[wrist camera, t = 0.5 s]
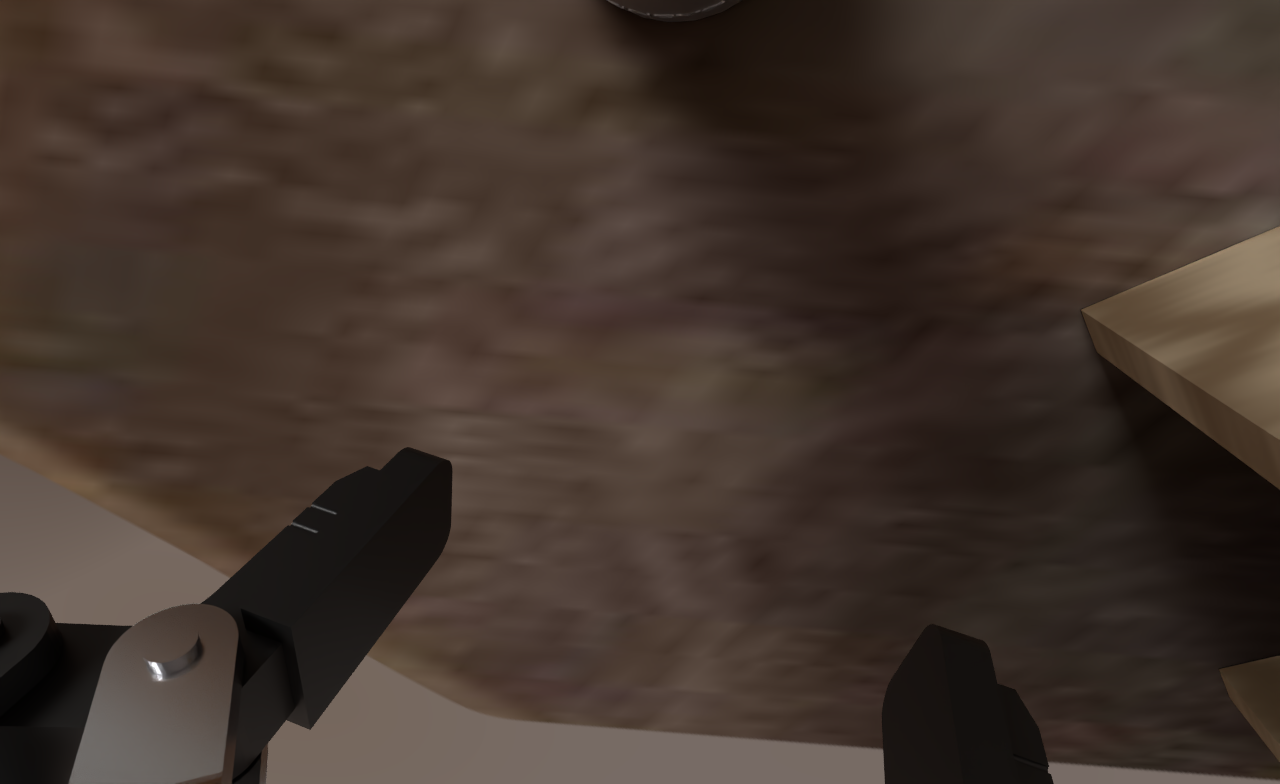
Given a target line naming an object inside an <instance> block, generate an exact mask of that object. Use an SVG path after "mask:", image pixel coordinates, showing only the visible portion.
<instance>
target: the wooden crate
mask: <svg viewBox="0 0 1280 784" xmlns="http://www.w3.org/2000/svg"><path fill="white" fill-rule="evenodd" d="M1081 312H1082V315H1083V317H1084V320H1085V322H1086V325H1087V328H1088V330H1089V333H1090V335H1091V338H1092V341H1093V343H1094V346H1095V348H1096V351H1097V353H1098V354H1100V355H1101V356H1102V357H1104V358H1105V359H1106V360H1108V361H1109V362H1110V363H1112V364H1113V365H1114V366H1116V367H1117V368H1118V369H1120V370H1121V371H1122V372H1124V373H1125V374H1126V375H1128V376H1129V377H1130V378H1132V379H1133V380H1134V381H1136V382H1137V383H1138V384H1140V385H1141V386H1142V387H1144V388H1145V389H1146V390H1148V391H1149V392H1150V393H1152V394H1153V395H1154V396H1156V397H1157V398H1158V399H1160V400H1161V401H1162V402H1164V403H1165V404H1166V405H1168V406H1169V407H1170V408H1172V409H1173V410H1174V411H1176V412H1177V413H1178V414H1180V415H1181V416H1182V417H1184V418H1185V419H1186V420H1188V421H1189V422H1190V423H1192V424H1193V425H1194V426H1196V427H1197V428H1198V429H1200V430H1201V431H1202V432H1204V433H1205V434H1206V435H1208V436H1209V437H1210V438H1212V439H1213V440H1214V441H1216V442H1217V443H1218V444H1220V445H1221V446H1222V447H1224V448H1225V449H1226V450H1228V451H1229V452H1230V453H1232V454H1233V455H1234V456H1236V457H1237V458H1238V459H1240V460H1241V461H1242V462H1244V463H1245V464H1246V465H1247V466H1249V467H1250V468H1251V469H1253V470H1254V471H1255V472H1257V473H1258V474H1259V475H1261V476H1262V477H1263V478H1265V479H1266V480H1267V481H1269V482H1270V483H1271V484H1273V485H1274V486H1275V487H1277V488H1278V489H1279V490H1280V226H1279V227H1276V228H1274V229H1271V230H1269V231H1267V232H1264V233H1262V234H1260V235H1257V236H1255V237H1252V238H1250V239H1248V240H1245V241H1243V242H1241V243H1238V244H1236V245H1233V246H1231V247H1229V248H1226V249H1224V250H1222V251H1219V252H1217V253H1214V254H1212V255H1210V256H1207V257H1205V258H1203V259H1200V260H1198V261H1195V262H1193V263H1191V264H1188V265H1186V266H1184V267H1181V268H1179V269H1176V270H1174V271H1172V272H1169V273H1167V274H1165V275H1162V276H1160V277H1157V278H1155V279H1153V280H1150V281H1148V282H1146V283H1143V284H1141V285H1138V286H1136V287H1134V288H1131V289H1129V290H1127V291H1124V292H1122V293H1119V294H1117V295H1115V296H1112V297H1110V298H1108V299H1105V300H1103V301H1100V302H1098V303H1096V304H1093V305H1091V306H1089V307H1086V308H1084V309H1081ZM1219 671H1220V674H1221V676H1222V679H1223V682H1224V684H1225V687H1226V689H1227V692H1228V695H1229V697H1230V699H1231V700H1232V702H1233V703H1234V704H1235V705H1236V707H1237V708H1238V709H1239V711H1240V712H1241V713H1242V714H1243V716H1244V717H1245V718H1246V720H1247V721H1248V722H1249V723H1250V725H1251V726H1252V727H1253V729H1254V730H1255V731H1256V732H1257V734H1258V735H1259V736H1260V738H1261V739H1262V740H1263V741H1264V743H1265V744H1266V745H1267V747H1268V748H1269V749H1270V750H1271V752H1272V753H1273V754H1274V755H1275V757H1276V758H1277V759H1278V761H1279V762H1280V655H1279V656H1275V657H1270V658H1266V659H1262V660H1257V661H1253V662H1248V663H1244V664H1239V665H1235V666H1230V667H1226V668H1222V669H1219Z"/></svg>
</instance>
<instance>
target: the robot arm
mask: <svg viewBox="0 0 1280 784" xmlns="http://www.w3.org/2000/svg"><path fill="white" fill-rule="evenodd" d="M607 1H609V2H610V3H612V4H614V5H616V6H618V7H620V8H622V9H624V10H626V11H630V12H632V13H634V14H636V15H639V16H641V17H643V18H648V19H654V20H659V21H665V22H680V21H695V20H699V19H702V18H705V17H708V16H711V15H715V14H718V13H721V12H723V11H725V10H726V9H728V8H730V7H732V6H733V5H735V4H737V3H739V2H740V1H742V0H607ZM451 506H452V464H451V462H450V461H449V460H446V459H443V458H440V457H437V456H434V455H431V454H428V453H425V452H422V451H419V450H416V449H413V448H410V447H407V448H404V449H402V450H401V451H400V452H398V453H397V454H396V455H395V456H394V457H393V458H392V459H391V460H390V461H389V462H388V463H387V464H386V465H385V466H384V467H383V468H382V469H381V470H377V469H374V468H371V467H368V466H367V467H365V468H363V469H360V470H358V471H356V472H354V473H352V474H350V475H348V476H346V477H344V478H342V479H339V480H337V481H336V482H334V483H333V484H332V485H331V486H330V487H329V488H328V489H327V490H326V491H325V492H324V493H323V494H321V495H320V496H319V497H318V498H317V499H316V500H315V501H314V502H313V503H312V506H311V507H310V508H309V507H307V508H306V509H305V510H304V511H303V512H302V513H301V514H300V515H299V516H298V517H296V518H295V519H294V520H293V523H292V525H291V526H287V527H286V528H284V529H283V530H282V531H281V532H280V533H279V534H278V535H277V536H276V537H275V538H274V539H272V540H271V541H270V542H269V543H268V544H267V545H266V546H265V547H264V548H263V549H262V550H261V551H259V552H258V553H257V554H256V555H255V556H254V557H253V558H252V559H251V560H250V561H249V562H247V563H246V564H245V565H244V566H243V567H242V568H241V569H240V570H239V571H238V572H237V573H236V574H234V575H233V576H232V577H231V578H230V579H229V580H228V581H227V582H226V583H225V584H224V585H222V586H221V587H220V588H219V589H218V590H217V591H216V592H215V593H214V594H212V595H211V596H210V597H209V598H208V599H206V600H205V601H204V602H202V603H201V604H186V605H180V606H175V607H171V608H168V609H165V610H162V611H159V612H157V613H155V614H152V615H150V616H148V617H146V618H145V619H143V620H141V621H140V622H138V623H137V624H135V625H134V626H115V625H114V626H113V625H90V624H67V623H55V621H54V619H53V617H52V615H51V613H50V611H49V609H48V608H47V606H46V604H45V603H44V602H43V601H41V600H40V599H39V598H36V597H35V596H32V595H28V594H24V593H14V592H8V593H0V784H266V772H267V758H268V742H269V741H270V740H271V738H272V737H273V736H274V735H275V733H276V732H277V731H278V730H279V728H280V727H281V726H282V724H283V723H284V722H285V721H286V720H288V721H290V722H293V723H295V724H298V725H300V726H302V727H305V728H307V729H311V728H312V727H313V726H314V724H315V723H316V722H317V720H318V719H319V717H320V716H321V715H322V713H323V712H324V711H325V709H326V708H327V707H328V705H329V704H330V703H331V701H332V700H333V699H334V697H335V696H336V695H337V693H338V692H339V691H340V689H341V688H342V687H343V685H344V684H345V683H346V681H347V680H348V679H349V677H350V676H351V675H352V673H353V672H354V671H355V669H356V668H357V667H358V665H359V664H360V662H361V661H362V660H363V659H364V657H365V656H366V655H367V653H368V652H369V651H370V649H371V648H372V647H373V645H374V644H375V643H376V641H377V640H378V638H379V637H380V636H381V634H382V633H383V632H384V630H385V629H386V628H387V626H388V625H389V624H390V622H391V621H392V620H393V618H394V617H395V616H396V614H397V613H398V612H399V610H400V609H401V608H402V606H403V605H404V604H405V602H406V601H407V600H408V598H409V597H410V596H411V594H412V593H413V592H414V590H415V589H416V588H417V586H418V585H419V584H420V582H421V581H422V580H423V578H424V577H425V576H426V574H427V573H428V572H429V570H430V569H431V568H432V566H433V565H434V563H435V562H436V561H437V559H438V558H439V556H440V555H441V553H442V551H443V549H444V547H445V545H446V542H447V539H448V536H449V533H450V528H451ZM882 732H883V752H884V771H885V784H1053V780H1052V776H1051V774H1049V773H1048V767H1049V765H1048V761H1047V757H1046V754H1045V750H1044V746H1043V743H1042V739H1041V735H1040V731H1039V728H1038V726H1037V724H1036V723H1035V721H1034V720H1033V718H1032V716H1031V715H1030V713H1029V711H1028V710H1027V708H1026V707H1025V705H1024V703H1023V702H1022V700H1021V699H1020V697H1019V695H1018V694H1017V692H1016V690H1015V689H1012V688H1009V687H1006V686H1003V685H1000V684H997V680H996V676H995V671H994V667H993V663H992V658H991V654H990V650H989V648H988V646H987V644H986V643H985V642H984V641H982V640H979V639H976V638H973V637H970V636H967V635H964V634H961V633H958V632H955V631H952V630H949V629H946V628H943V627H940V626H937V625H934V624H930V625H929V626H927V627H926V628H925V629H924V631H923V632H922V634H921V635H920V637H919V638H918V640H917V641H916V643H915V644H914V646H913V647H912V649H911V650H910V652H909V653H908V655H907V656H906V658H905V659H904V661H903V662H902V664H901V665H900V667H899V668H898V670H897V671H896V673H895V674H894V676H893V677H892V679H891V681H890V683H889V685H888V688H887V691H886V694H885V698H884V703H883V710H882Z"/></svg>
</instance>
